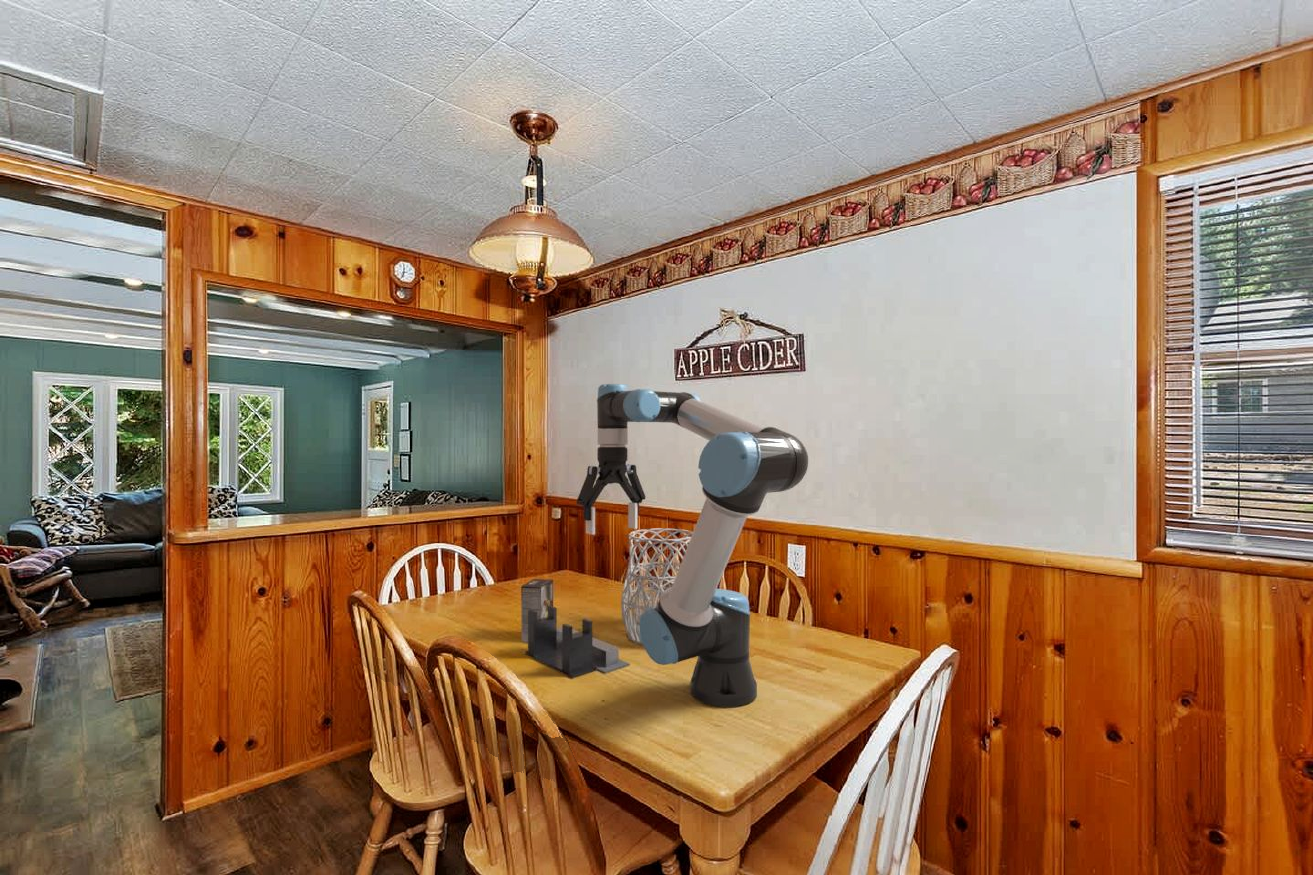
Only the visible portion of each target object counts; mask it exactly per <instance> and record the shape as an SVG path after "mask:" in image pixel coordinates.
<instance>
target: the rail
mask: <svg viewBox="0 0 1313 875" xmlns="http://www.w3.org/2000/svg"><path fill="white" fill-rule="evenodd" d="M577 632H580V631H578V630H576V629H574V628H572V634H574V633H577ZM557 645H558V646H560V647H562V626H560V627H557ZM618 659H619V646H615V645H612V644H610V643H608V642H605V641H603V640H600V639H598V638H595V637H593V636H592V661H593V662H595V663H597V664H600V665H602V666H604V667H609V666H612V665H615V664H618Z"/></svg>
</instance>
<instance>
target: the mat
mask: <svg viewBox="0 0 1313 875" xmlns="http://www.w3.org/2000/svg"><path fill="white" fill-rule="evenodd" d="M557 650H559V651H561V652H562V647H560V646H558V645H557ZM630 665H631V663H629V662H628V661H627V662H626V661H625V660H622V659H619V658H618V664H615V665H612V666H609V667H604V666H602V665H600V664H597V663H595V662H593V661H592V666H594V667H596V671H598V672H601V673H603V674H608V673H612V672H614V671H617V670H620V669H623V668H626V667H629V666H630Z"/></svg>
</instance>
